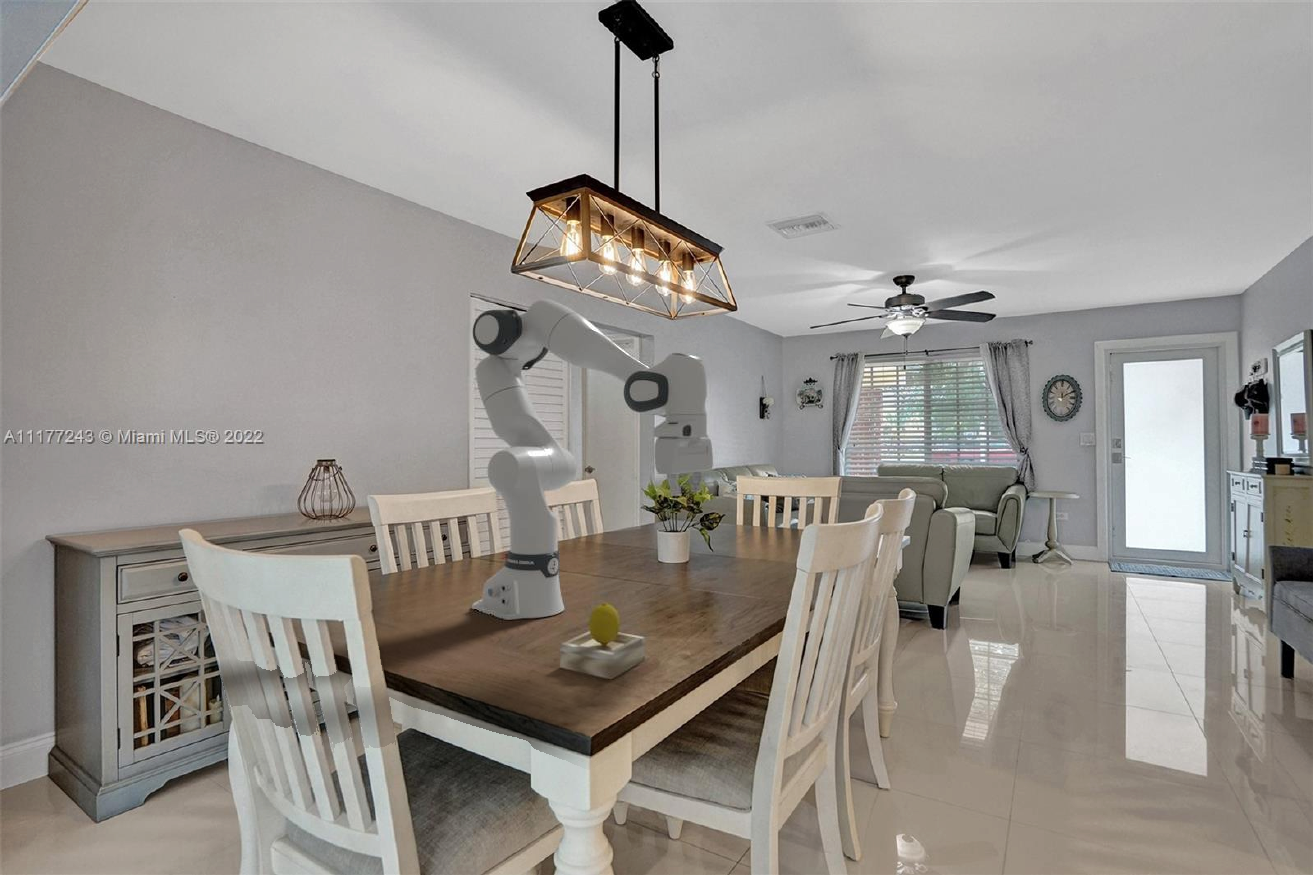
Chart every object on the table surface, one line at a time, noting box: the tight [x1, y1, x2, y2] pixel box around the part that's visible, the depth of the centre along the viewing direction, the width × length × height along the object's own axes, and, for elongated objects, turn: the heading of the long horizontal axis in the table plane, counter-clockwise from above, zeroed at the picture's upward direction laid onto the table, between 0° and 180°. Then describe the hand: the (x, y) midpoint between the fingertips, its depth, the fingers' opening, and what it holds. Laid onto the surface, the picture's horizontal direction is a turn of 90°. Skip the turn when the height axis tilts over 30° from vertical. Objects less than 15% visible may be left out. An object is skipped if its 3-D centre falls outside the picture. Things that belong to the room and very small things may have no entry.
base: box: [559, 630, 646, 680], centre depth 116 cm, size 11×11×4 cm
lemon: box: [588, 602, 620, 646], centre depth 116 cm, size 6×6×8 cm
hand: (686, 493), depth 136 cm, fingers open, 8 cm apart
